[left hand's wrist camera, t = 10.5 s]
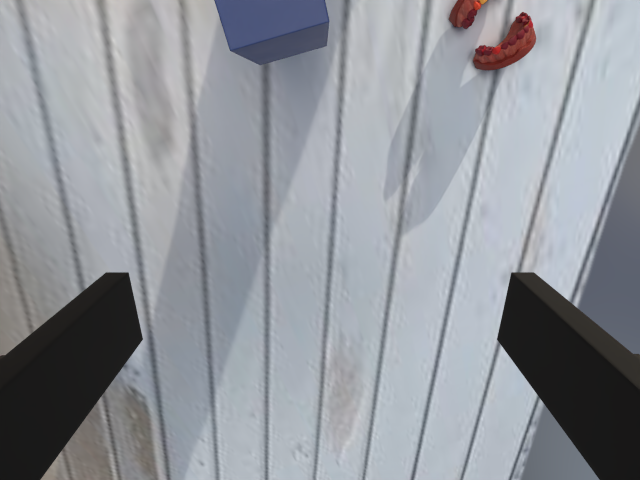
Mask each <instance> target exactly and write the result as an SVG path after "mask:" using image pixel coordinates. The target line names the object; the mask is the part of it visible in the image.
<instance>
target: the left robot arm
mask: <svg viewBox="0 0 640 480" xmlns="http://www.w3.org/2000/svg"><path fill="white" fill-rule="evenodd" d="M142 340H143V338H142V333H141V329H140V324H139V319H138V315H137V310H136V305H135V301H134V296H133V291H132V287H131V282H130V277H129V273H105V274H104V275H103V276H101V277H100V278H99V279H98V280H96V281H95V282H94V283H93V284H92V285H90V286H89V287H88V288H87V289H85V290H84V291H83V292H82V293H81V294H79V295H78V296H77V297H76V298H75V299H73V300H72V301H71V302H70V303H68V304H67V305H66V306H65V307H64V308H62V309H61V310H60V311H59V312H57V313H56V314H55V315H54V316H53V317H51V318H50V319H49V320H48V321H46V322H45V323H44V324H43V325H42V326H40V327H39V328H38V329H37V330H36V331H34V332H33V333H32V334H31V335H29V336H28V337H27V338H26V339H25V340H23V341H22V342H21V343H20V344H18V345H17V346H16V347H15V348H14V349H12V350H11V351H10V352H9V353H7V354H6V355H2V356H0V480H40V479H41V478H42V477H43V475H44V474H45V473H46V471H47V470H48V468H49V467H50V466H51V464H52V463H53V462H54V460H55V459H56V457H57V456H58V455H59V453H60V452H61V451H62V449H63V448H64V447H65V445H66V444H67V442H68V441H69V440H70V438H71V437H72V436H73V434H74V433H75V431H76V430H77V429H78V427H79V426H80V425H81V423H82V422H83V421H84V419H85V418H86V416H87V415H88V414H89V412H90V411H91V410H92V408H93V407H94V405H95V404H96V403H97V401H98V400H99V399H100V397H101V396H102V395H103V393H104V392H105V390H106V389H107V388H108V386H109V385H110V384H111V382H112V381H113V380H114V378H115V377H116V375H117V374H118V373H119V371H120V370H121V369H122V367H123V366H124V364H125V363H126V362H127V360H128V359H129V358H130V356H131V355H132V354H133V352H134V351H135V349H136V348H137V347H138V345H139V344H140V343H141V341H142ZM497 340H498V341H499V343H500V344H501V345H502V347H503V348H504V349H505V351H506V352H507V354H508V355H509V356H510V358H511V359H512V360H513V362H514V363H515V364H516V366H517V367H518V369H519V370H520V371H521V373H522V374H523V375H524V377H525V378H526V380H527V381H528V382H529V384H530V385H531V386H532V388H533V389H534V390H535V392H536V393H537V395H538V396H539V397H540V399H541V400H542V401H543V403H544V404H545V405H546V407H547V408H548V410H549V411H550V412H551V414H552V415H553V416H554V418H555V419H556V421H557V422H558V423H559V425H560V426H561V427H562V429H563V430H564V431H565V433H566V434H567V436H568V437H569V438H570V440H571V441H572V442H573V444H574V445H575V446H576V448H577V449H578V451H579V452H580V453H581V455H582V456H583V457H584V459H585V460H586V462H587V463H588V464H589V466H590V467H591V468H592V470H593V471H594V472H595V474H596V475H597V477H598V478H599V479H600V480H640V355H639V354H633V353H631V352H630V351H629V350H628V349H626V348H625V347H624V346H623V345H622V344H620V343H619V342H618V341H617V340H615V339H614V338H613V337H612V336H611V335H609V334H608V333H607V332H606V331H604V330H603V329H602V328H601V327H600V326H598V325H597V324H596V323H595V322H593V321H592V320H591V319H590V318H589V317H587V316H586V315H585V314H584V313H583V312H581V311H580V310H579V309H578V308H576V307H575V306H574V305H573V304H572V303H570V302H569V301H568V300H567V299H565V298H564V297H563V296H562V295H561V294H559V293H558V292H557V291H556V290H555V289H553V288H552V287H551V286H550V285H548V284H547V283H546V282H545V281H544V280H542V279H541V278H540V277H539V276H537V275H536V274H535V273H511V277H510V282H509V287H508V291H507V296H506V301H505V305H504V310H503V315H502V319H501V324H500V329H499V333H498V338H497Z"/></svg>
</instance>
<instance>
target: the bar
mask: <svg viewBox="0 0 640 480" xmlns="http://www.w3.org/2000/svg"><path fill="white" fill-rule="evenodd" d="M215 4H216V7H217V10H218V13H219V16H220V20H221V23H222V26H223V29H224V33H225V36H226V39H227V42H228V46H229V49H230V51H232V52H234V53H236V54H238V55H240V56H242V57H244V58H246V59H249V60H251V61H253V62H255V63H257V64H259V65H262V64H266V63H269V62H273V61H276V60H280V59H283V58H286V57H290V56H293V55H297V54H300V53H304V52H307V51H311V50H314V49H318V48H321V47H325V46H327V38H328V28H329V17H328V13H327V8H326V3H325V0H215Z"/></svg>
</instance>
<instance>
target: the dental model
mask: <svg viewBox="0 0 640 480" xmlns="http://www.w3.org/2000/svg"><path fill="white" fill-rule="evenodd" d="M486 1H487V0H458V1H457V2H456V4H455V6H454V7H453V9H452V11H451V14H450V17H449V20H450V21H451V23H452V24H453V25H454V26H455V27H456V26H457V27H462V26H463V28H464V29H467V28H468V27H469V26H471V25H472V23H473V21H474V15H475V16H476V14H477V10H478V9H480V8H481V4H484V3H485V2H486ZM479 2H480V3H479ZM535 42H536V35H535V31H534V28H533V23H532V21H531V18H530V16H528V15H527V13H524V12H522V13H521V14H520V15H519V16H517V17H516V20H515V21H514V22H513V24H512V25H511V29H510V31H509V33H508V35H507V37H506V38H505V39H504V41H503V42H502V43H500V44H499V45H498V46H496V47H495V48H494V47H486V46H485V45H483V46H479V48H477V49H475V52H476V54H475V57H474V59H473V62H474V64H475V67H476V68H477V69H480V70H496V69H499V68H503V67H506V66H508V65H511V64H513V63H515V62H517V61H518V60H520V59H521V58H523V57H524V56H525V55H526V54H527V53H529V51H530V50H531V49H532V48H533V46H534V45H535Z"/></svg>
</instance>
